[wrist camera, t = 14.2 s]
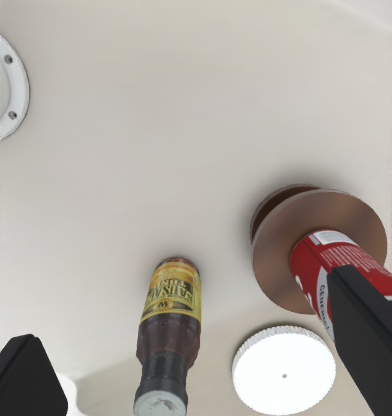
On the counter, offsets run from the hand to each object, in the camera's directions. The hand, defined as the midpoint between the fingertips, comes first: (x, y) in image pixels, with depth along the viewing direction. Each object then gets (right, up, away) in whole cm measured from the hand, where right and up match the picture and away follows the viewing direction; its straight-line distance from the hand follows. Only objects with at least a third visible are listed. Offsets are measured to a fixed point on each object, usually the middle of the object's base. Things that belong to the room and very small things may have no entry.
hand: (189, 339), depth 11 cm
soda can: (+13, -1, +25) cm, 28 cm away
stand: (+13, +1, +32) cm, 34 cm away
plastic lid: (+12, -18, +38) cm, 44 cm away
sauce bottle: (-3, -5, +33) cm, 34 cm away
